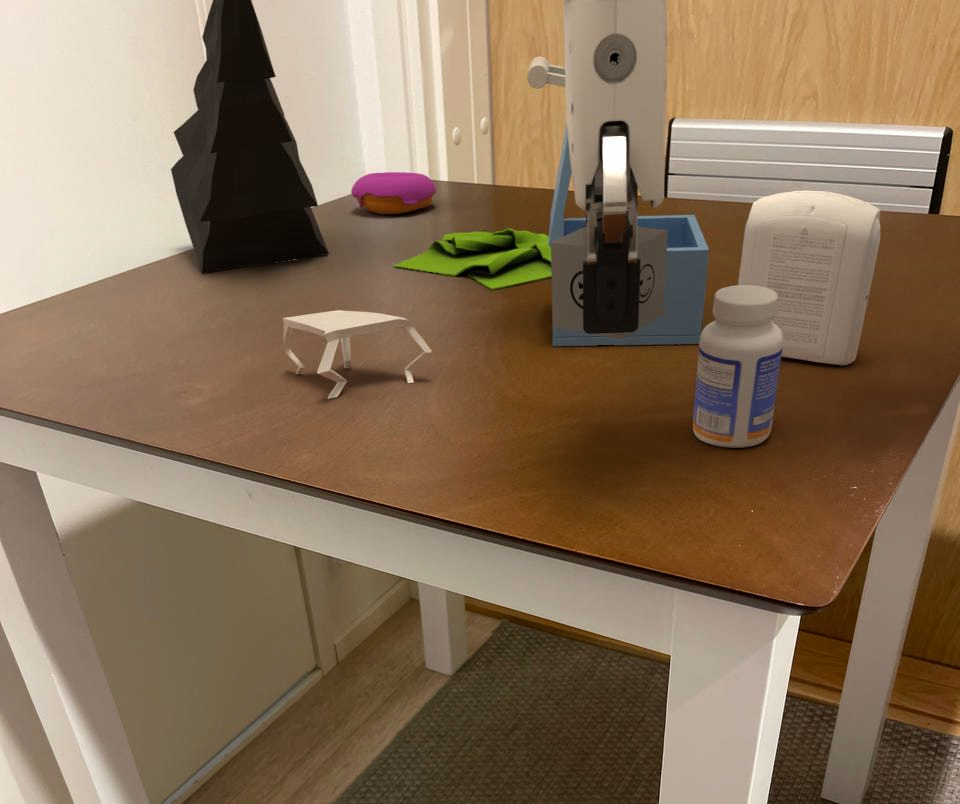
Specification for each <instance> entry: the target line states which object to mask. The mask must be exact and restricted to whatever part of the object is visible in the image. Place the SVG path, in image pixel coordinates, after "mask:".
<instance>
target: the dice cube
mask: <svg viewBox="0 0 960 804" xmlns="http://www.w3.org/2000/svg"><path fill="white" fill-rule="evenodd" d="M597 224H598V222H597ZM667 237H668V230H662V229H654V228H645V227H637V259H640V261H641V263H640V293H639V324H638V328H637V330H639V329H641V328H642V327H644V326H645V325H647V324H649V323H650V322H652V321H653V320H655V319H657V318H658V317H660V316H662V315H663V314H664V297H665V277H666V257H667ZM583 261H587V226H586V227H583V228H581V229H579V230H577V231H575V232H573V233H570V234H568V235H566V236H564V237H562V238H559V239H557V240H555V241H553V242H551V274H552V277H551V320H552V321H551V322H552V328H553V327H558V328H563V329H569V330H574V331H579V332H585V331H584V330H583ZM637 330H636V331H637ZM636 331H634V332H636ZM634 332H626V333H600V334H595V335H601V336H606V337H612V338H617V339H622V340H623V339H624V338H626V337H628V336H629V335H631V334H632V333H634ZM585 333H586V332H585Z"/></svg>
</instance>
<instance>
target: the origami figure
mask: <svg viewBox="0 0 960 804" xmlns="http://www.w3.org/2000/svg"><path fill="white" fill-rule="evenodd" d="M282 322H283V336H282V339H283V353H285V354H286V356H288V357H289V358H290V359H291V360H292V361H293V362H294V364H296V365H297V367H298V368H297V370H296V372H295V375H296V376H297V375H302V372H303V371H304V369H305V365H304V364H303V363H302V362H301V360H299V358H298V357H297V356H296V355H295V353H294V352H293V351H292V350H291V349H290V346H291V342H292V341H291V340H292V337H293V335H294V332H295V329H296V330H300V331H304V332H308V333H312V334H315V335H318V336H321V337H324V339H325V341H326V342H327V343H326V346H325V348H324V352H323V355H322V357H321V360H320V363H319V365H318V368H317V372H316V373H317V375H320V376H322V377H325V378H327V379H329V380H331V381H334V382H336V384H335V386H334V387H333V389H332V390H331V391H330V393H329V395H328V396H327V399H328V400H330V399H334V398H338V397H339V395H340V394H341V392H342V390H343V389H344V387H345V385H346V384H347V382H348V380H347V379H346V378H344V377H343V376H342V375H340V374H339V373H337V372H336V371H335V370H333V369H332V365H333V361H334V357H335V354H336V352H337V348H338V345H339V343H340V345H341V351H342V359H343V369H351V368H352V355H351V354H352V353H351V340H350V339H351V337H356V336H361V335H368V334H372V333H379V332H383V331H390V330H395V329H399V328H402V329H403V330H404V332H406V333H407V334H408V336H409V337H411V338H412V339H413V340H414V342H415V343H417V344H418V345H419V347H420V348H421V349H422V350H423V351H422V352H421V353H420V354H418V355H417V356H416V357H415V358H414V359H412V361H411V362H409V363H408V364H407V365H406V366H405V367H403V372H404V376H405V379H406V382H407V384H414V383H415V381H414V378H413V373H412V370H411V369H413V368H414V367H415V366H417V365H418V364H419V363H420V362H421V361H423V360H424V359H425V358H427V357H428V356H429V355H431V354H432V353H433V351H432V349H431V348H430V347H429V346H428V345H427V343H426V341H425V340H424V339H423V336H421V334H419V332H418V331H417V330H416V328H414V326H413V325H412V323H411V322H410V321H409V320H408V319H407V318H405V317H403V316H402V317H401V316H398V315H397V316H396V315H391V314H385V313H381V312H372V311H356V310H355V311H353V310H341V309H338V310H329V311H323V312H315V313H308V314H302V315H295V316H289V317H282Z"/></svg>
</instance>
